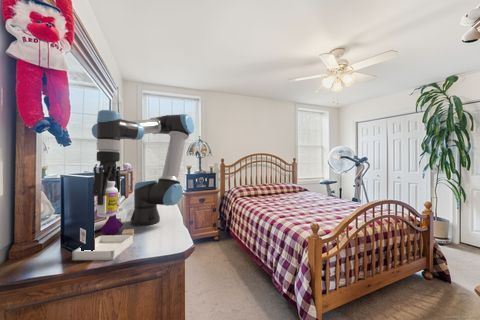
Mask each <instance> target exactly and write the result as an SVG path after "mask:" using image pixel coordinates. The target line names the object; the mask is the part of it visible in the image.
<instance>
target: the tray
mask: <svg viewBox="0 0 480 320" xmlns="http://www.w3.org/2000/svg"><path fill="white" fill-rule="evenodd" d="M134 237H135V234H134V235H122V234H120V235H119V234H118V235H117V234H116V235H99V236H97V237H95V238H94V239H95V250H93V251H91V250H84V251H81V248H80V247H81V246H79V247H78V248H76V249H74V250H73V251H72V255H71V261H114V260H115V259H116V258H117V257H118V256H120V255H121V254H122V253H123V252H124V251H126V249H128V248H129V247H130V246H131V245H133V244H134V242H135V241H134Z"/></svg>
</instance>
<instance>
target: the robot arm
mask: <svg viewBox="0 0 480 320" xmlns="http://www.w3.org/2000/svg"><path fill="white" fill-rule="evenodd" d="M96 118H97V120H96V123H95V124H93V126H92V127H91V134H92V136H93V137H94V138H95V139H96V150H97V152H96V161H97V162H99V166H95V167H93V173H94V175H93V188H92V195H93V196H94V197H97V199H96V201H97V202H96V215H97V214H106V196H104V195H105V191H106V187H107V182H108V181H115V185H114V187H115V188H117V189H118V193H120V192H121V166H118V165H117V162H118V163H119V161H120V159H121V157H120V156H121V153H120V150H121V140H132V141H135V140H137V141H138V140H142V138H143V137H144V136H145V134H146V135H147V134H152V135H158V134H160V135H162V134H163V135H168V136H169V143H168V147H167V153H166V157H165V161H164V166H163V170H162V175H161V177H158V180H146V181H138V182H135V184H134V190H133V193H134V194H133V195H134V196H133V198H134V199H133V205H134V207H133V208H134V209H133V212H132V215H131V217H130V225H132V226H135V227H136V226H137V227H139V226H141V227H142V226H143V227H144V226H150V225H155V224H157V223H160V220H161V219H160V218H161V216H160V214H159V213H160V212H159V210H158V205H159V206H175V205H177V204H178V203H179V202H180V201H181V199H182V197H183V192H184V190H183V186H182V185H181V184H180V183H181V181H180V179H179V175H180V169H181V165H182V160H183V153H184V149H185V143H186V140H188V139H189V136H190V135H191V134H193V133H194V131H195V123H194V121H193V118H192V117H191V116H190V115H189V114H187V113H181V114H165V115H160V116H156V117H150V118H149V119H141V120H126V119H123V118H122V116H121V113H120V112H118V111H117V110H110V109H101V110H99V111H97V117H96Z"/></svg>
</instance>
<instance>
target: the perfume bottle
mask: <svg viewBox="0 0 480 320" xmlns="http://www.w3.org/2000/svg"><path fill="white" fill-rule="evenodd" d="M117 207H119V204H117ZM123 226H124V223H123V222H121V221H120V220H119V218H117V214H116V215H114V216H109V217H108V218H107V220H106V221H105V222H104V224H103V226H101V228H100V231H101V232H102V234H103V235H104V236H117V234H118V233H119V232H120V230H121V229H122V227H123Z"/></svg>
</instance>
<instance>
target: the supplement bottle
mask: <svg viewBox="0 0 480 320" xmlns="http://www.w3.org/2000/svg"><path fill="white" fill-rule="evenodd" d="M114 185H115V181H108V182H107V187H106V191H105V195H104V196H106V214H97V213H96V216H97V217H100V218H107V217H108V218H109V216H114V215H116V216H117V214H118V206H117V204H118V203H119V202H118V200H119V199H118V198H119V197H118V195H119V192H118V189H117V188H115V187H114ZM118 205H119V204H118Z"/></svg>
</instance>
